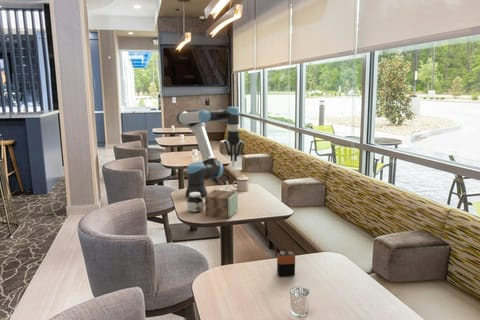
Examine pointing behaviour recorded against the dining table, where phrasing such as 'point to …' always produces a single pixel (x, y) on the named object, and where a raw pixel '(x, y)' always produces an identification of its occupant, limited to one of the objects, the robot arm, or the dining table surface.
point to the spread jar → (195, 202)
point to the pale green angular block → (232, 204)
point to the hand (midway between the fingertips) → (233, 166)
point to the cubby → (217, 204)
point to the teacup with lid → (242, 183)
